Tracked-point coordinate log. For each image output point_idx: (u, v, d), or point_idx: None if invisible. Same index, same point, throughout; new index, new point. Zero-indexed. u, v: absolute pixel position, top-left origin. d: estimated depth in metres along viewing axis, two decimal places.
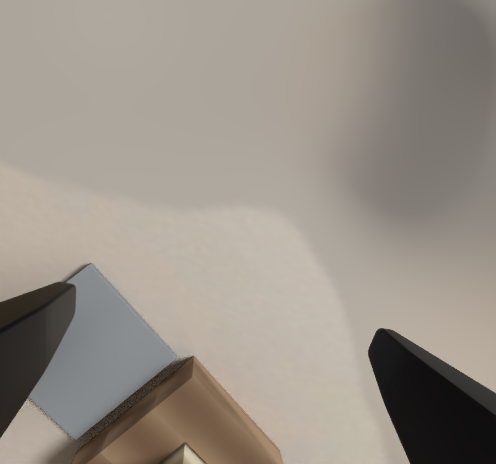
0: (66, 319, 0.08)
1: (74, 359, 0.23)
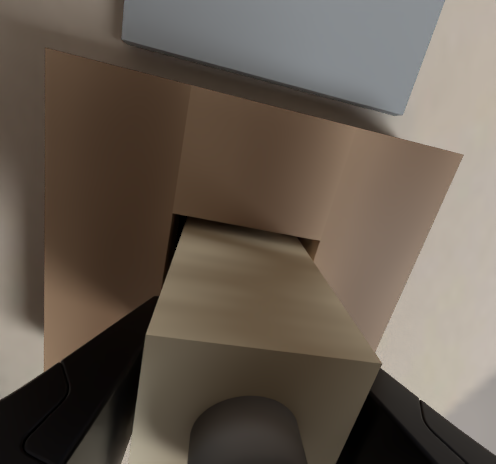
0: None
1: None
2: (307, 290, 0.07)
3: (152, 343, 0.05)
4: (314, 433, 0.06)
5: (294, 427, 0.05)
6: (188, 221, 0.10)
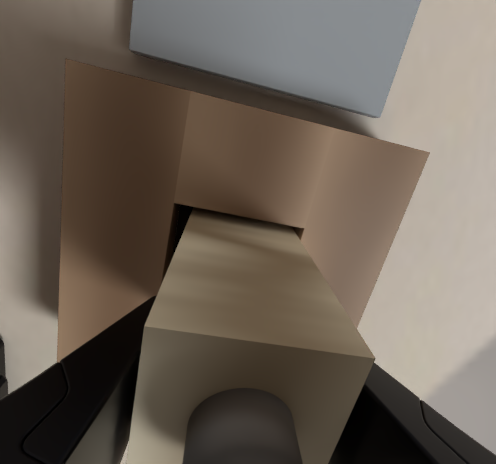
0: None
1: None
2: (305, 287, 0.07)
3: (150, 334, 0.05)
4: (309, 426, 0.06)
5: (288, 419, 0.05)
6: (190, 220, 0.10)
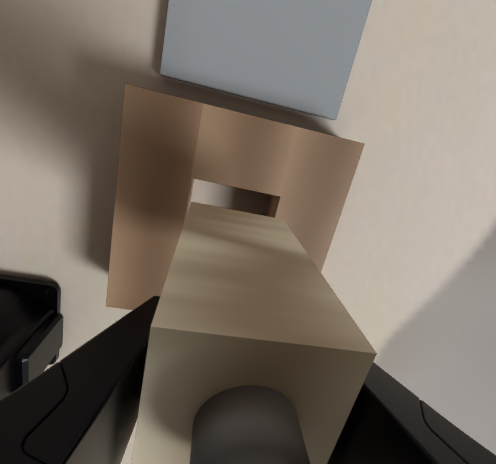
0: None
1: None
2: (305, 284, 0.07)
3: (157, 335, 0.05)
4: (312, 420, 0.06)
5: (293, 415, 0.05)
6: (187, 219, 0.10)
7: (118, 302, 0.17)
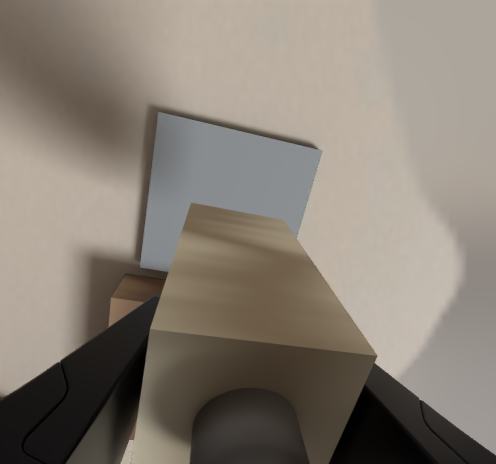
0: None
1: None
2: (305, 286, 0.07)
3: (156, 337, 0.05)
4: (313, 423, 0.06)
5: (293, 417, 0.05)
6: (187, 220, 0.10)
7: None
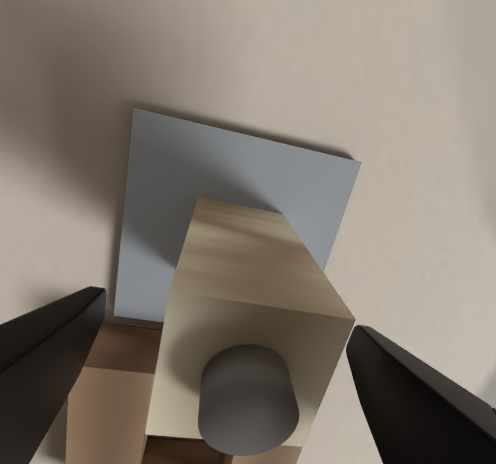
0: (97, 323, 0.08)
1: None
2: (299, 267, 0.08)
3: (174, 298, 0.06)
4: (302, 378, 0.07)
5: (285, 369, 0.06)
6: (196, 211, 0.11)
7: None
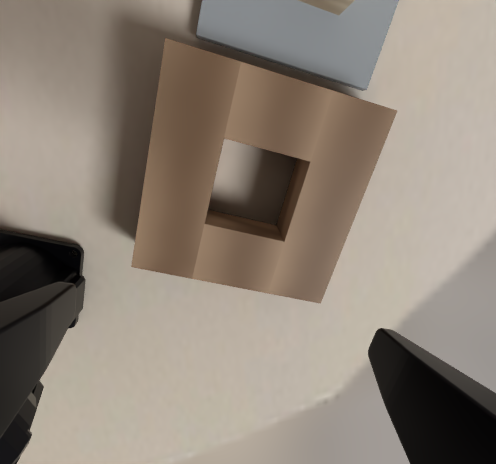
0: (66, 319, 0.08)
1: None
2: None
3: None
4: None
5: None
6: None
7: (143, 263, 0.17)
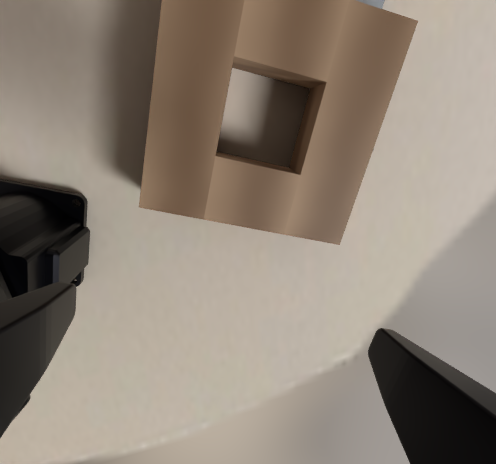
0: (66, 319, 0.08)
1: None
2: None
3: None
4: None
5: None
6: None
7: (152, 203, 0.16)
